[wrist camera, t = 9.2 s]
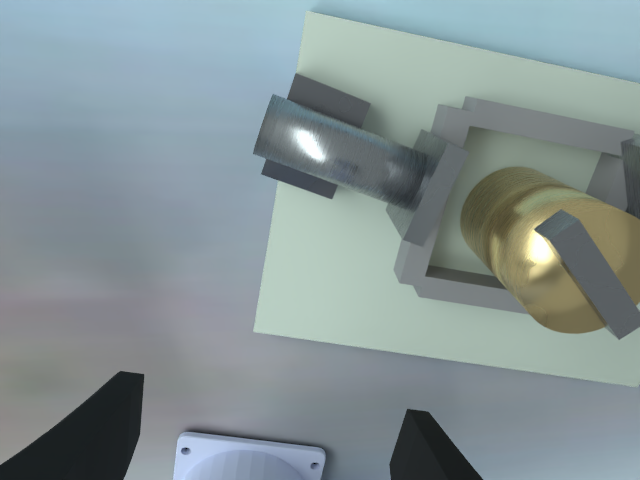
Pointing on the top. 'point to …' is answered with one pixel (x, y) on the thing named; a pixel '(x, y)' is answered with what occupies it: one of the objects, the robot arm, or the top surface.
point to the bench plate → (445, 237)
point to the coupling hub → (557, 250)
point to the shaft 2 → (631, 173)
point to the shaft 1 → (356, 156)
